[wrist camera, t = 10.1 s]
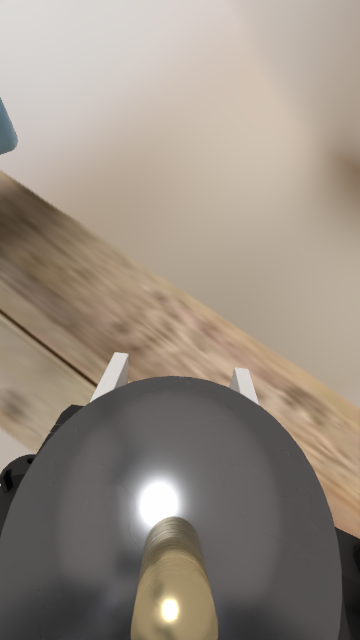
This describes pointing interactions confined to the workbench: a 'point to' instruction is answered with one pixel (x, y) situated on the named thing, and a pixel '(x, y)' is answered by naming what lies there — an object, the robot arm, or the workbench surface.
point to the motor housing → (170, 525)
